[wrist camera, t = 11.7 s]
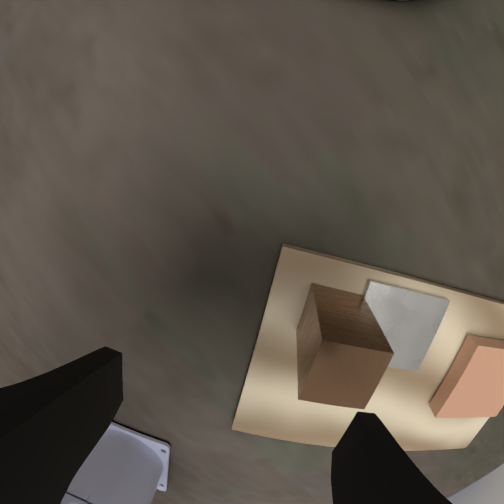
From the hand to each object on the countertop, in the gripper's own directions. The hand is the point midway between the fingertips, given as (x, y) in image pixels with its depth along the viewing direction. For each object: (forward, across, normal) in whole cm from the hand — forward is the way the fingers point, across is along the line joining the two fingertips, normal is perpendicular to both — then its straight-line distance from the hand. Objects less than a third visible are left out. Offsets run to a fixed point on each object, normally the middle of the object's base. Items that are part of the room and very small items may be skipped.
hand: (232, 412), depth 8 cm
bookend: (+9, -7, 0) cm, 11 cm away
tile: (+8, -14, +2) cm, 16 cm away
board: (+10, -12, +4) cm, 16 cm away
